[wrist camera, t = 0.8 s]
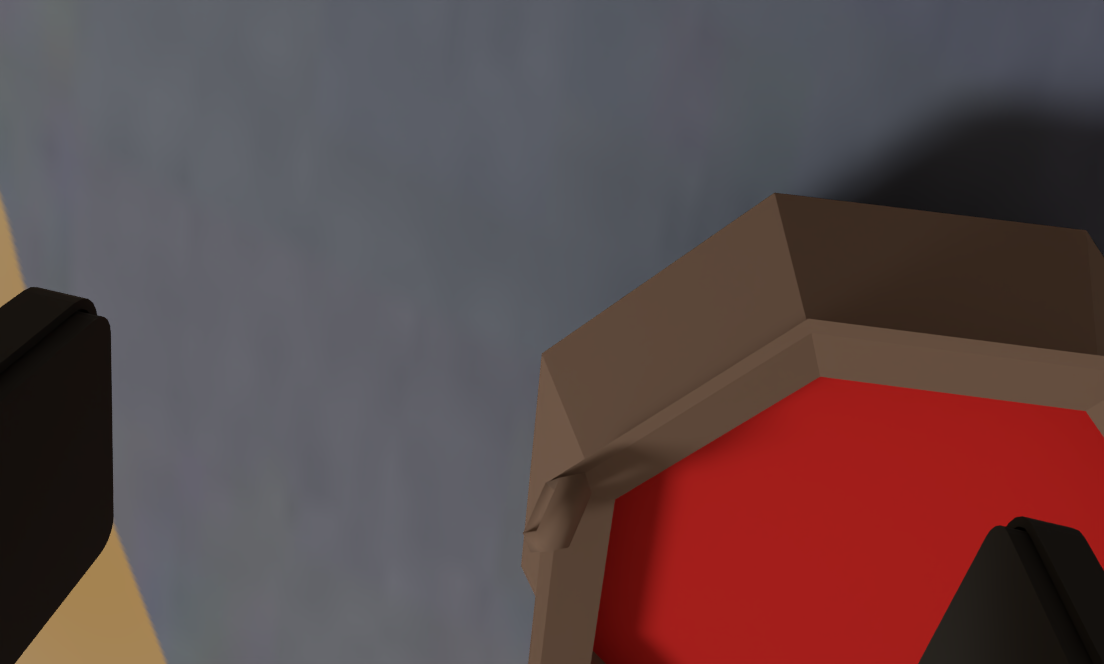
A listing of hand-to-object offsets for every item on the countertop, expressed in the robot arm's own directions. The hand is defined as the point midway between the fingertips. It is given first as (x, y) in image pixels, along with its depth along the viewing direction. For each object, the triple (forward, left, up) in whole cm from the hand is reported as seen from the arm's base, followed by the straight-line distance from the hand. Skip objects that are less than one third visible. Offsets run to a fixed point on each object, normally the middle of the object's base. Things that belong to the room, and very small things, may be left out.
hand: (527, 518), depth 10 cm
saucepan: (+12, +12, -28) cm, 33 cm away
